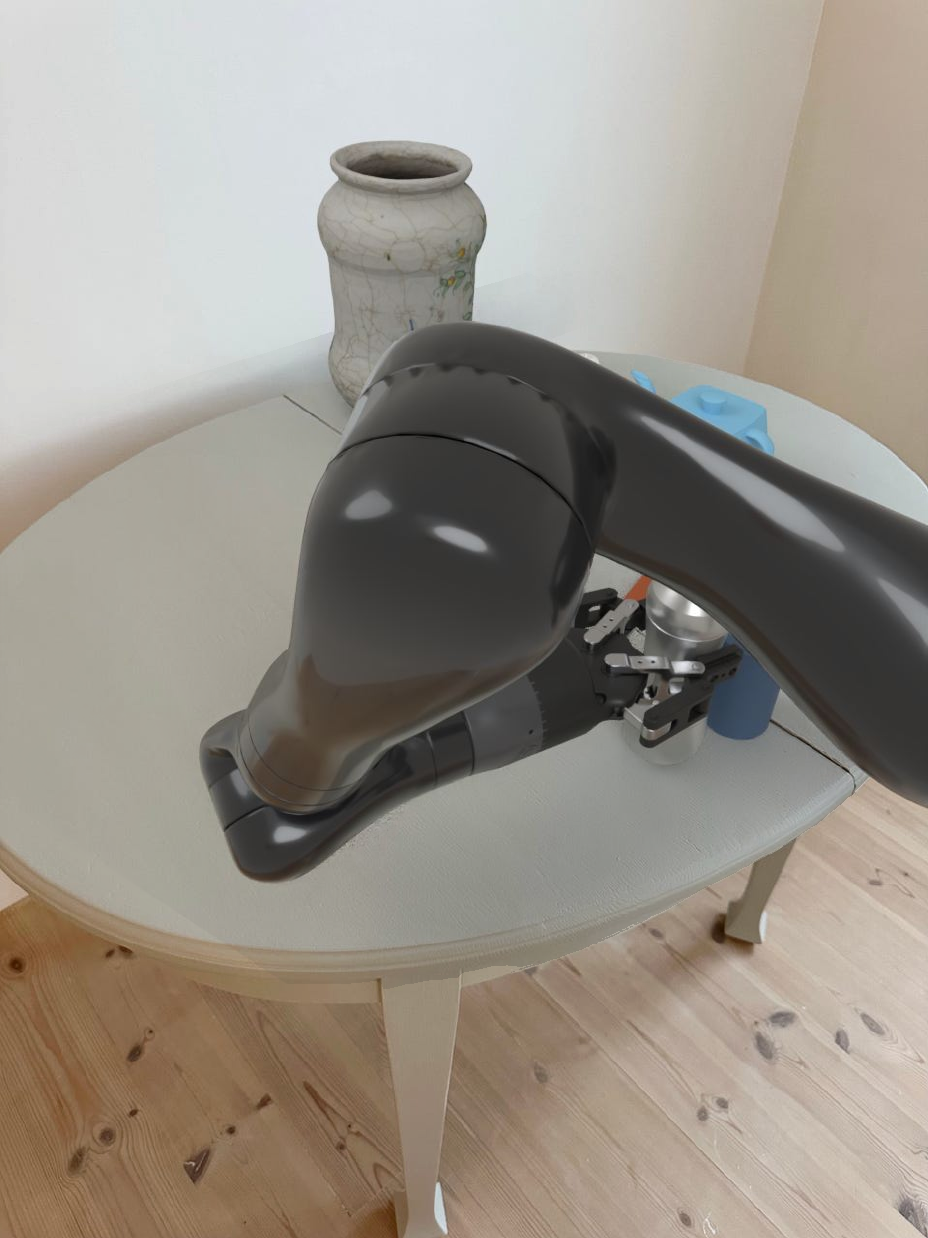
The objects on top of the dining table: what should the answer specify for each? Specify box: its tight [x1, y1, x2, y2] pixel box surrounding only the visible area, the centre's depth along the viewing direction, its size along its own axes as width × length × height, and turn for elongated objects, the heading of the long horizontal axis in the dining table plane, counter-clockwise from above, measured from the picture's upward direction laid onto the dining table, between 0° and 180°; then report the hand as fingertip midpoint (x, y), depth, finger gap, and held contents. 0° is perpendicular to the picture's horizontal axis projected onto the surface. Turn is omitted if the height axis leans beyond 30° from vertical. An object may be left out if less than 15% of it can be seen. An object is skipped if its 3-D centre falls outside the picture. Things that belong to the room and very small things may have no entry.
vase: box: [316, 140, 488, 409], centre depth 107 cm, size 18×18×30 cm
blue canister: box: [707, 633, 781, 741], centre depth 76 cm, size 6×6×9 cm
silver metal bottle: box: [622, 580, 729, 766], centre depth 69 cm, size 6×7×20 cm
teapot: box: [630, 370, 775, 457], centre depth 103 cm, size 12×18×12 cm
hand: (707, 628), depth 70 cm, fingers closed on silver metal bottle, 6 cm apart
